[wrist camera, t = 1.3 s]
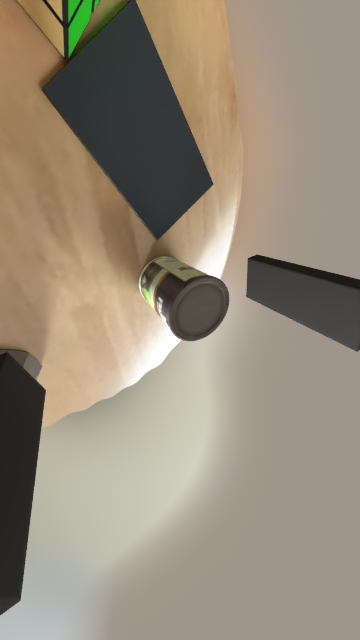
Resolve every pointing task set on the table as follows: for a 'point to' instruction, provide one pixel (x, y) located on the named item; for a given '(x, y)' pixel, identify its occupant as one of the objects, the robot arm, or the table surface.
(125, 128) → the placemat
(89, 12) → the puzzle cube
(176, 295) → the coffee can
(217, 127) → the table surface
